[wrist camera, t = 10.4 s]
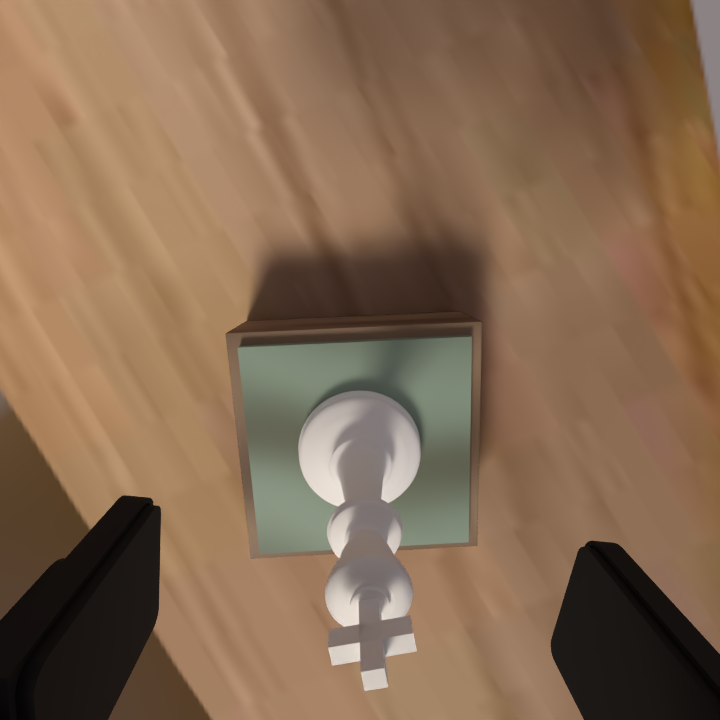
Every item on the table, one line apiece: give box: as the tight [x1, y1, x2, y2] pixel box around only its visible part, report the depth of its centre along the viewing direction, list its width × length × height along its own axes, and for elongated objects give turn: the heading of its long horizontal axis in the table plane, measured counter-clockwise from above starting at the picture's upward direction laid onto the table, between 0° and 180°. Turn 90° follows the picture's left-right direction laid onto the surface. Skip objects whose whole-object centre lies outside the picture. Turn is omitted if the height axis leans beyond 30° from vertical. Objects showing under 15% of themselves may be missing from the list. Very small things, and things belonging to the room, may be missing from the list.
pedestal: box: [226, 311, 482, 559], centre depth 20 cm, size 10×10×4 cm
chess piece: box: [298, 390, 421, 691], centre depth 13 cm, size 5×5×10 cm
